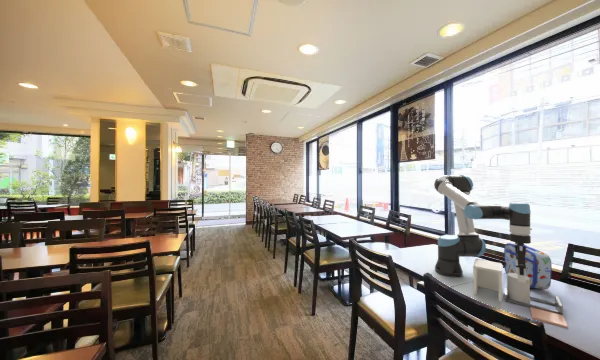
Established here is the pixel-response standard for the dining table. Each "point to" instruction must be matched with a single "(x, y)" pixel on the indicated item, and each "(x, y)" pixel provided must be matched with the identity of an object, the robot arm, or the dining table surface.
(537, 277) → the lunch box
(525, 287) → the cup
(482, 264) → the shelf
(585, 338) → the dining table surface
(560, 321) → the coaster
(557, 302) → the frame
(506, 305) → the dining table surface
